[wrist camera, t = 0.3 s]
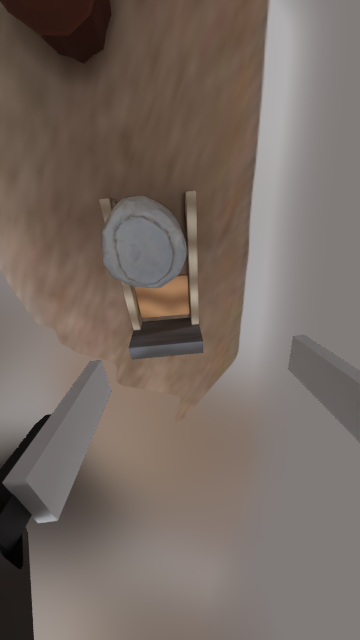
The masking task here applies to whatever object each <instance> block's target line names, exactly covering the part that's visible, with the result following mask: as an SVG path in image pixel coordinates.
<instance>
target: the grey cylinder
mask: <svg viewBox="0 0 360 640" xmlns="http://www.w3.org/2000/svg"><path fill="white" fill-rule="evenodd" d="M101 241H102V251H103V264H104V265H105V266H106V267H107V268H108V270H109V272H110V274H111V276H112V277H114V278H116V279H118V280H120V281H122V282H124V283H126V284H128V285H131V286H134V287H144V288H161V287H162V286H164V285H165V284H167V283H168V282H170V281H171V280H173V279H174V278H175V277H176V276H178V274H179V273H180V272H181V270H182V268H183V266H184V262H185V259H186V256H187V247H186V242H185V238H184V235H183V233H182V231H181V228H180V225H179V223H178V221H177V220H176V218H175V217H174V215H173V214H172V213H171V212H170V211H169V210H168V209H167V208H166V207H165V206H163V205H162V204H160V203H158V202H157V201H154V200H151V199H150V198H148V197H146V196H143V195H142V196H135V197H128V198H123V199H121V200H120V201H119V202H118V203H117V204H116V205H115V206H114V208H113V209H112V211H111V213H110V214H109V216H108V218H107V220H106V222H105V224H104V226H103V228H102V239H101Z"/></svg>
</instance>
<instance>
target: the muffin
mask: <svg viewBox="0 0 360 640" xmlns="http://www.w3.org/2000/svg"><path fill="white" fill-rule="evenodd" d="M0 1H1V2H2V4H3V5H4V6H5V8H6V9H7V11H8V12H9V13H11V14H12V15H14V16H15V17H16V18H18V19H19V20H20V21H22V22H23V23H25V24H26V25H27V26H29V27H30V28H32V29H33V30H34V31H36V32H37V33H39V34H40V35H41V36H42V37H43V38H44V39H45V40H46V41H47V42H48V43H49V44H50V45H51V46H52V47H53V48H54V49H55V50H56V51H57V52H58V53H59V54H61V55H65V56H69V57H73V58H74V59H76V60H78V61H80V62H82V63H85V62H86V61H87V60H88V59H89V58H90V57H91V56H92V55H94V54H96V53H98V52H99V51H101V50H103V49H104V42H105V36H106V30H107V27H108V24H109V20H110V17H111V8H110V1H109V0H0Z"/></svg>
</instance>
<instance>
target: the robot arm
mask: <svg viewBox="0 0 360 640" xmlns="http://www.w3.org/2000/svg"><path fill="white" fill-rule="evenodd" d="M288 369H289V371H290V372H291V373H293V375H294V376H295V377H296V378H297V379H298V380H299V381H300V382H301V383H302V384H303V385H304V386H305V387H306V388H307V389H308V390H309V391H310V392H311V393H312V394H313V395H314V396H315V397H316V398H317V399H318V400H319V401H320V402H321V403H322V404H323V405H324V406H325V407H326V408H327V410H328V411H329V412H330V413H331V414H332V415H333V416H334V417H335V418H336V419H337V420H338V421H339V422H340V423H341V424H342V425H343V426H344V427H345V428H346V429H347V430H348V431H349V432H350V433H351V434H352V435H353V436H354V437H355V438H356V439H357V440H358V441H359V442H360V371H359V370H358V369H357V368H355V367H353V366H352V365H350V364H349V363H347V362H346V361H344V360H342V359H341V358H340V357H338V356H336V355H335V354H333V353H332V352H330V351H329V350H327V349H326V348H324V347H322V346H321V345H319V344H318V343H316V342H315V341H313V340H311V339H310V338H308V337H307V336H305V335H299V336H293V340H292V346H291V353H290V359H289V366H288ZM111 392H112V390H111V387H110V384H109V381H108V378H107V375H106V372H105V370H104V366H103V363H102V361H101V360H96V361H90V362H89V363H88V365H87V366H86V368H85V369H84V370H83V372H82V373H81V375H80V376H79V377H78V379H77V380H76V381H75V383H74V384H73V386H72V387H71V388H70V390H69V391H68V392H67V394H66V395H65V397H64V398H63V400H62V401H61V402H60V403H59V405H58V406H57V408H56V409H55V410H54V412H53V413H52V414H50V415H45V416H44V417H43V418H42V419H41V420H40V421H39V422H37V423H36V424H35V425H34V427H33V428H32V429H31V430H30V432H29V433H28V434H27V436H26V438H24V439H23V441H22V442H21V443H20V445H19V447H18V448H17V449H16V450H15V451H14V452H13V454H12V455H11V456H10V457H9V459H8V460H7V462H6V463H5V464H4V465H3V466H2V468H1V469H0V640H34V635H33V616H32V598H31V580H30V564H29V544H28V532H27V529H26V525H27V523H28V521H29V519H30V517H31V516H32V517H33V518H34V519H35V520H36V521H37V523H41V522H50V521H58V518H59V516H60V514H61V511H62V509H63V507H64V504H65V502H66V499H67V497H68V494H69V492H70V490H71V487H72V485H73V483H74V480H75V478H76V476H77V473H78V471H79V468H80V466H81V463H82V461H83V459H84V456H85V454H86V452H87V449H88V447H89V444H90V442H91V440H92V437H93V435H94V432H95V430H96V428H97V425H98V423H99V420H100V418H101V416H102V413H103V411H104V409H105V406H106V404H107V401H108V399H109V397H110V394H111Z"/></svg>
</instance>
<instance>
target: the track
mask: <svg viewBox="0 0 360 640" xmlns="http://www.w3.org/2000/svg"><path fill="white" fill-rule="evenodd" d="M184 196H185V217H186V237H187V257H188V277H189V296H188V277H187V275H178V276H176V277H175V278H174V279H173V280H171V281H170V282H168V283H167V284H165V285H164V286H162V287H161V288H144V287H135V288H134V286H131V285H128V284H126V283H124V282H122V281H121V284H122V288H123V292H124V296H125V299H126V303H127V307H128V310H129V314H130V318H131V322H132V325H133V329H134V331H133V335H132V338H131V342H130V345H129V351H130V355H131V358H132V359H142V358H152V357H163V356H174V355H184V354H195V353H203V339H202V335H201V331H200V327H199V318H198V269H197V219H196V191H188V192H185V193H184ZM99 202H100V206H101V210H102V214H103V217H104V221H105V222H106V220H107V218H108V216H109V214H110V213H111V211H112V209H113V208H114V206H115V201H114V199H109V198H108V199H99ZM135 291H136V293H135ZM136 295H137V297H136ZM189 298H190V318H182V319H171V320H161V321H150V322H142V319H141V317H142V318H148V317H159V316H170V315H180V314H189ZM137 299H138V302H137ZM138 304H139V306H138ZM139 308H140V310H139ZM140 313H141V315H140Z"/></svg>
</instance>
